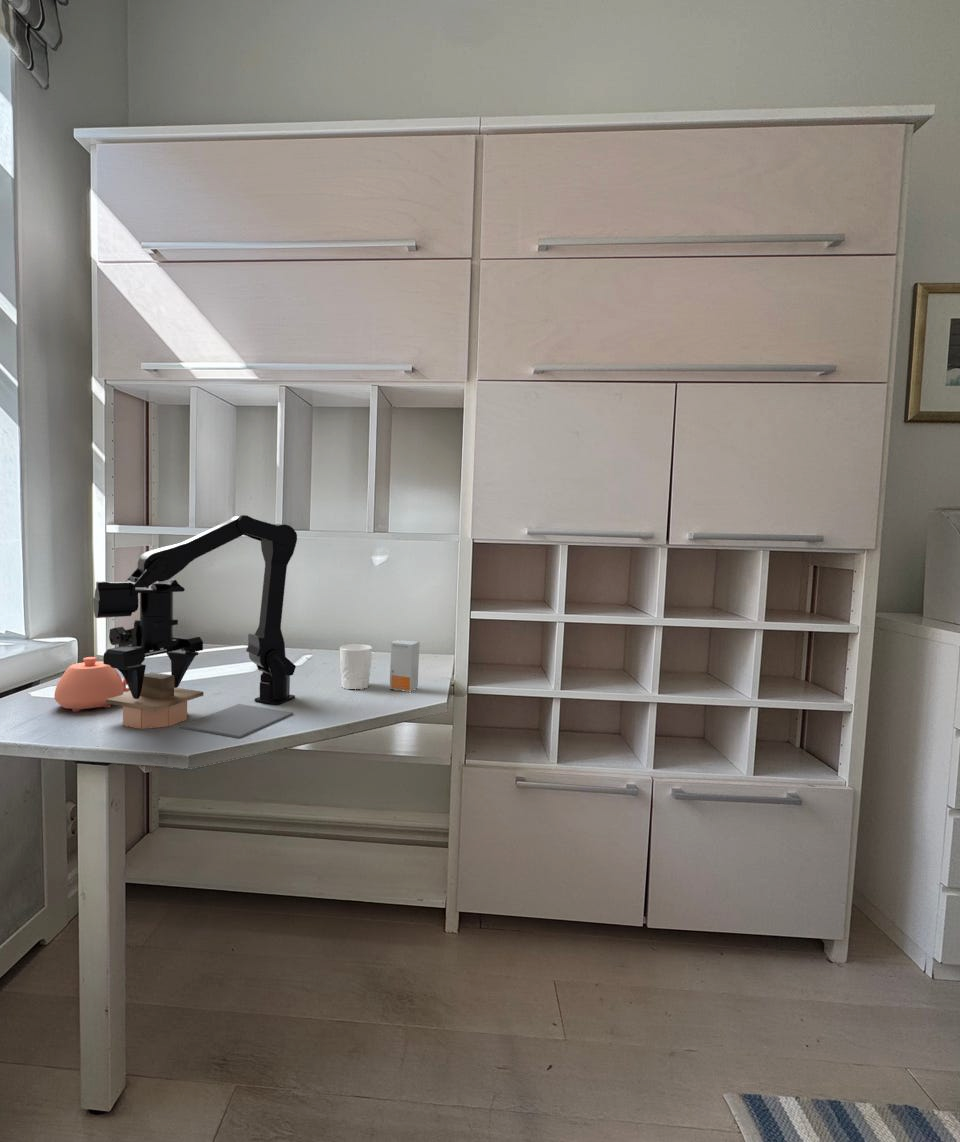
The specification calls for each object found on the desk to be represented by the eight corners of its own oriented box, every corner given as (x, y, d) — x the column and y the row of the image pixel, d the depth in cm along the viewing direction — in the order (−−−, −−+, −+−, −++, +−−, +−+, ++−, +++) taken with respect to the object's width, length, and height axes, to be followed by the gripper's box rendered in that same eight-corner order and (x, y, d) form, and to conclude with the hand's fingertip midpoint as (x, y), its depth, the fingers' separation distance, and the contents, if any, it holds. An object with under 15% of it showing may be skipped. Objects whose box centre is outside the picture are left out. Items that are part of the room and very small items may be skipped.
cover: (158, 688, 124) (158, 666, 124) (203, 695, 120) (203, 672, 120) (106, 703, 113) (105, 678, 113) (154, 711, 109) (154, 686, 109)
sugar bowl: (51, 702, 125) (51, 655, 124) (127, 693, 134) (127, 649, 133) (57, 718, 116) (57, 666, 115) (138, 706, 125) (138, 659, 124)
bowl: (157, 708, 124) (158, 689, 124) (199, 715, 120) (199, 695, 120) (110, 723, 113) (110, 702, 113) (154, 731, 110) (154, 710, 110)
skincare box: (388, 690, 145) (390, 642, 144) (396, 686, 149) (397, 639, 148) (411, 693, 143) (413, 644, 142) (418, 688, 147) (420, 641, 146)
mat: (238, 705, 128) (238, 703, 128) (293, 714, 123) (293, 712, 123) (179, 727, 113) (179, 725, 112) (239, 738, 108) (239, 736, 108)
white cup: (373, 683, 151) (374, 644, 150) (368, 691, 143) (369, 650, 143) (342, 682, 151) (343, 643, 150) (335, 690, 143) (336, 649, 142)
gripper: (164, 606, 127) (163, 678, 128) (81, 617, 109) (81, 699, 110) (205, 610, 124) (204, 683, 124) (126, 622, 106) (126, 707, 107)
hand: (156, 692), depth 117 cm, fingers open, 9 cm apart
